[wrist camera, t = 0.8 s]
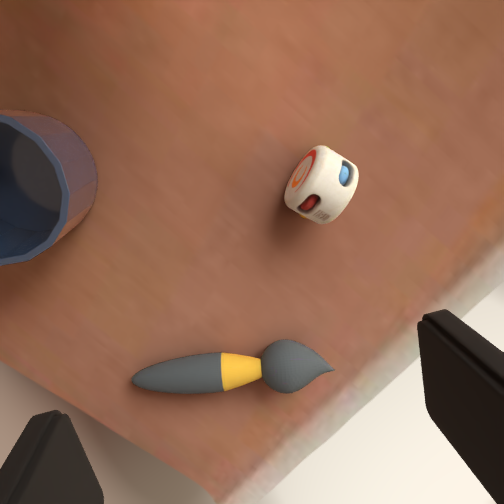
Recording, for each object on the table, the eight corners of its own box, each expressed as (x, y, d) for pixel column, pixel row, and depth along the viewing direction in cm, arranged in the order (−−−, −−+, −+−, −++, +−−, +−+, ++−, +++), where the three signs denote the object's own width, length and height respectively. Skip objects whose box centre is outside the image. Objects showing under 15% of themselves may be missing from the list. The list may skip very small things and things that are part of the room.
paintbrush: (142, 402, 42) (135, 438, 38) (130, 361, 41) (120, 393, 36) (328, 362, 43) (343, 392, 39) (322, 321, 42) (338, 347, 37)
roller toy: (351, 163, 37) (377, 171, 32) (314, 223, 38) (332, 240, 33) (311, 138, 36) (330, 142, 30) (274, 200, 37) (286, 215, 32)
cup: (-60, 155, 33) (-138, 166, 26) (43, 86, 32) (-6, 76, 25) (27, 255, 36) (-19, 291, 29) (122, 194, 36) (100, 215, 28)
